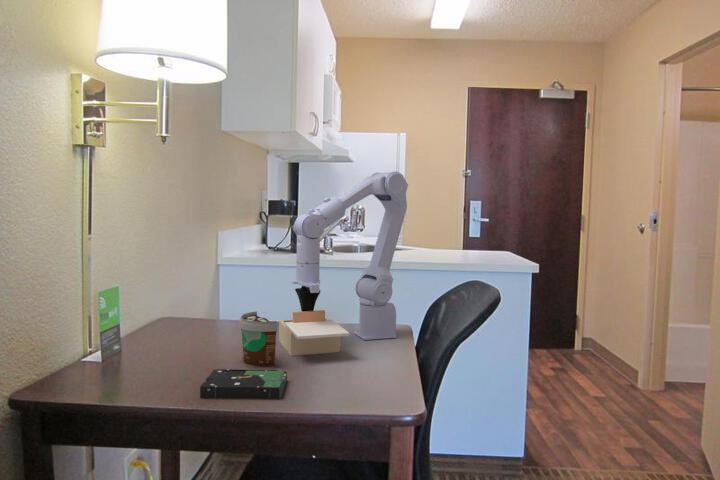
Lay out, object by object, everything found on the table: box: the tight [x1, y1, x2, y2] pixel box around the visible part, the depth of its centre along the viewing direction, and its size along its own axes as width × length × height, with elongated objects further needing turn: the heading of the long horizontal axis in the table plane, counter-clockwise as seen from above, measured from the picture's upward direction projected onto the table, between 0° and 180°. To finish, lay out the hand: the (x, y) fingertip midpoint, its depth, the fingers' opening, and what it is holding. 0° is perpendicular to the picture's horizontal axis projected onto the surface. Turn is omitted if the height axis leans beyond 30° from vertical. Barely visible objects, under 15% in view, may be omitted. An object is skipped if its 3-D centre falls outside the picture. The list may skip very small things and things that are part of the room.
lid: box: [284, 309, 350, 339], centre depth 126 cm, size 12×14×3 cm
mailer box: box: [278, 318, 341, 357], centre depth 133 cm, size 12×14×5 cm
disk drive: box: [199, 368, 288, 400], centre depth 102 cm, size 10×3×15 cm
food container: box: [237, 310, 279, 367], centre depth 119 cm, size 12×6×10 cm, turn 33°
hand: (307, 316), depth 134 cm, fingers closed
